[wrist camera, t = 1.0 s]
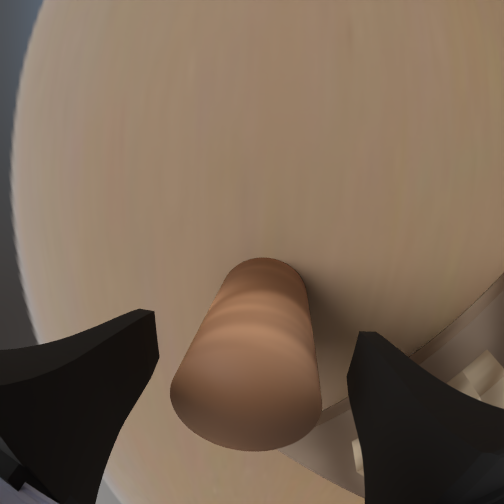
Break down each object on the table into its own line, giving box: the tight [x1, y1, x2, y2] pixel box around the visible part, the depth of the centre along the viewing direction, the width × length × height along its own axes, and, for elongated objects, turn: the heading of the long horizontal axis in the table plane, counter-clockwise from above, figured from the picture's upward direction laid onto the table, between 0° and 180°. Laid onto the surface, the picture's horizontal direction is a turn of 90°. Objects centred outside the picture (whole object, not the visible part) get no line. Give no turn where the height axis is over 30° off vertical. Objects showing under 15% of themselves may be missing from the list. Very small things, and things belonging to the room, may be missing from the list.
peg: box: [170, 258, 322, 451], centre depth 10 cm, size 4×4×7 cm
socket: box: [277, 273, 504, 498], centre depth 13 cm, size 18×16×4 cm
